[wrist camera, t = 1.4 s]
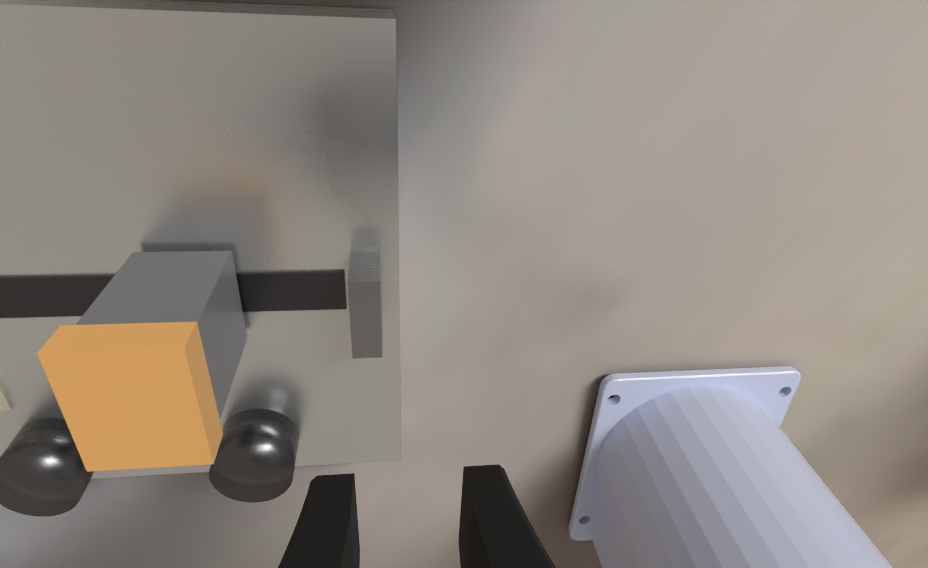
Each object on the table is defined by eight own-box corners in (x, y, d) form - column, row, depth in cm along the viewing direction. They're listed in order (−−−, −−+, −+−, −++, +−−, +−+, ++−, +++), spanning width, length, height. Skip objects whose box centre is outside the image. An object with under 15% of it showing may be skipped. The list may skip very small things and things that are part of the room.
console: (400, 419, 22) (402, 498, 19) (-105, 444, 19) (-196, 539, 16) (394, 8, 14) (397, 29, 11) (-407, -23, 12) (-670, -9, 9)
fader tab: (251, 343, 16) (213, 464, 13) (155, 346, 16) (86, 471, 12) (234, 243, 15) (184, 348, 11) (126, 245, 14) (36, 353, 11)
